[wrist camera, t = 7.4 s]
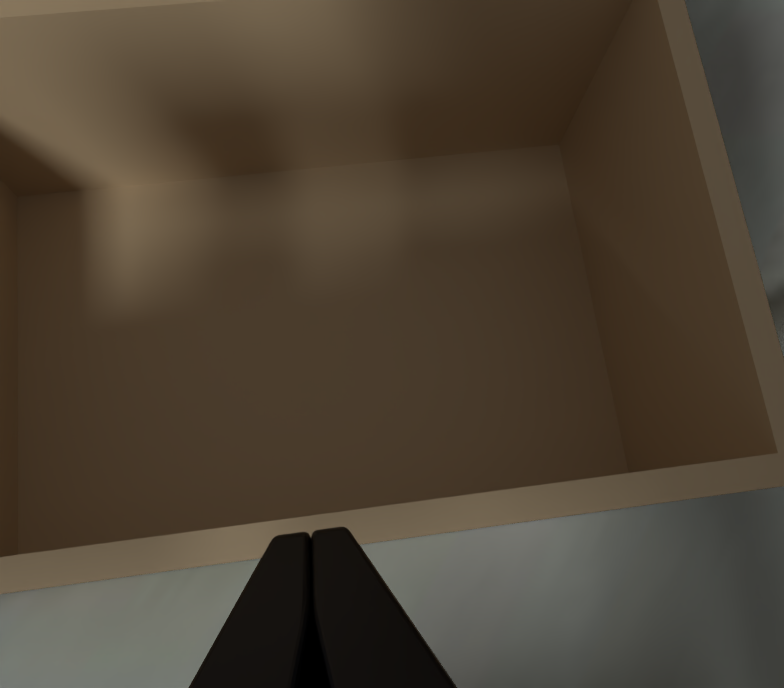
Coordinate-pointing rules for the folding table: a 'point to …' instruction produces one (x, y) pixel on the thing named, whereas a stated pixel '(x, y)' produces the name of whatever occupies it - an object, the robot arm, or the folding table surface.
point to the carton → (362, 276)
